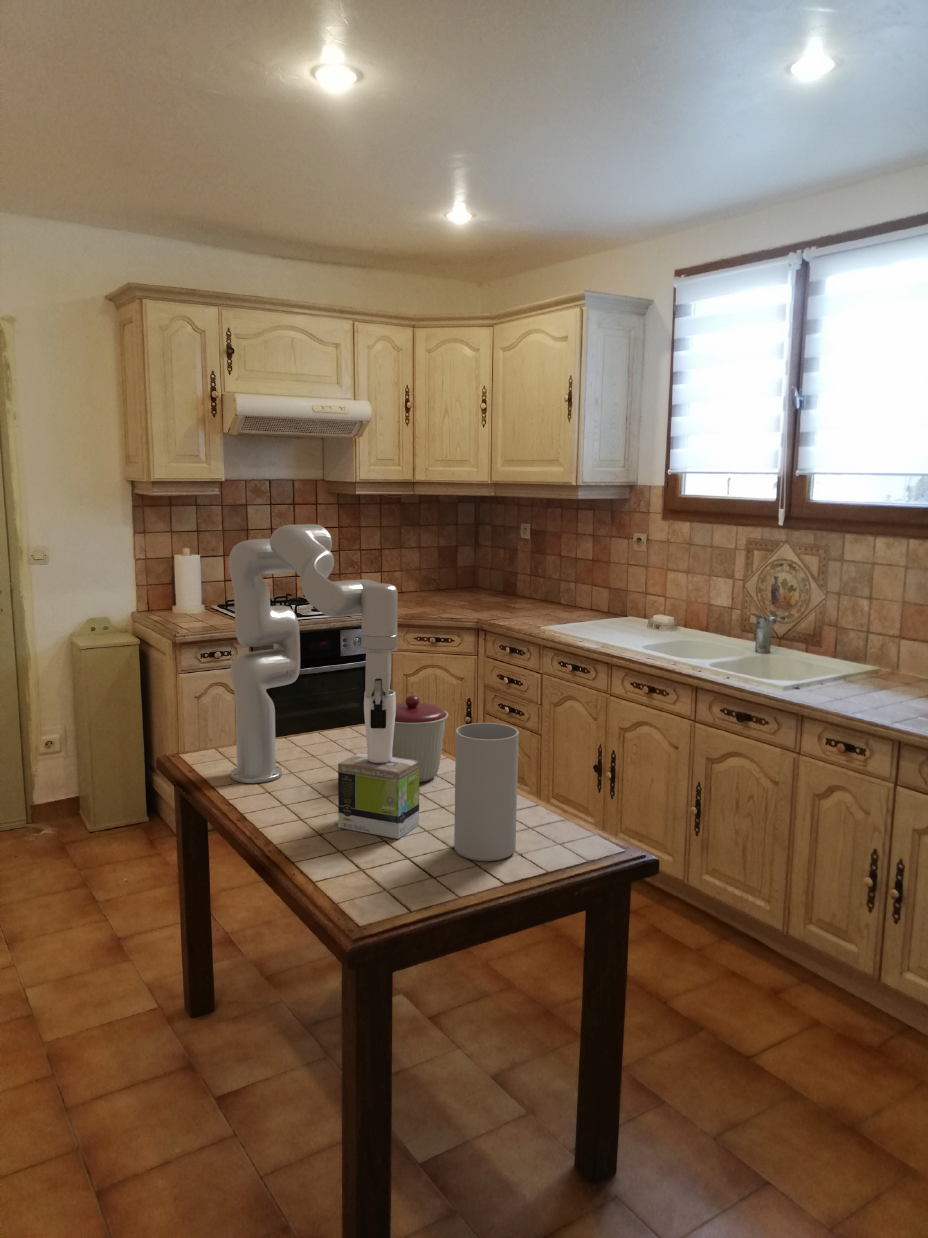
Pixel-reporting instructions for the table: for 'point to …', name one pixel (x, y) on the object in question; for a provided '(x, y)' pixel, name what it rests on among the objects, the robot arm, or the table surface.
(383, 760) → the white tumbler cup
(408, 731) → the canister
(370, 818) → the tea box
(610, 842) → the table surface
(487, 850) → the cylinder vase
